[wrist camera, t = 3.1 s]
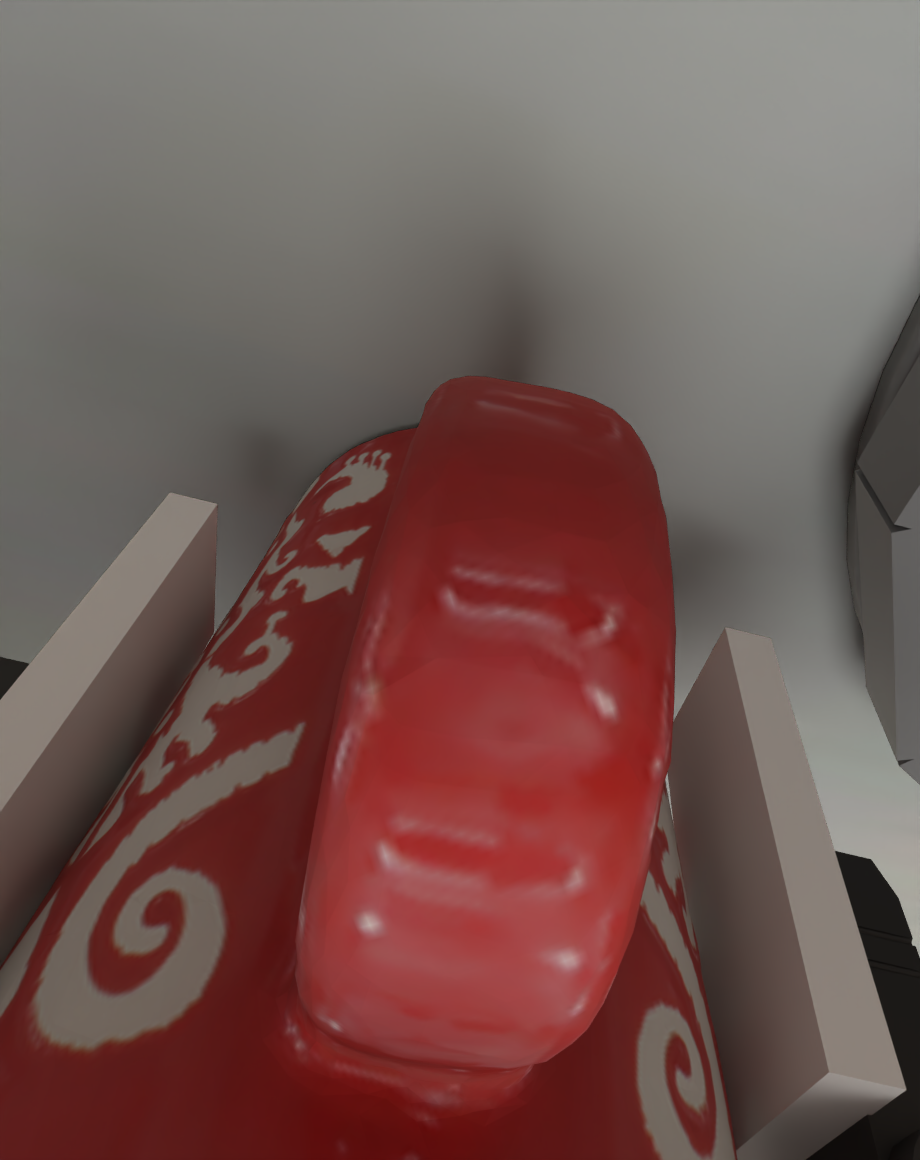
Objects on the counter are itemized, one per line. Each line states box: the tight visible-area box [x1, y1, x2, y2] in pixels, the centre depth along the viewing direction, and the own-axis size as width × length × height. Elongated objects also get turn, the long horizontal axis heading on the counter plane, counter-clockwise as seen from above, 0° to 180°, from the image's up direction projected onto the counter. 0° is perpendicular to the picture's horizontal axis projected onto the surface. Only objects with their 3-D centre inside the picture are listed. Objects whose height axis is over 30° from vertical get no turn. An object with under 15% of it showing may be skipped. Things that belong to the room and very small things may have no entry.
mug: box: [0, 376, 738, 1160], centre depth 11 cm, size 13×9×14 cm
